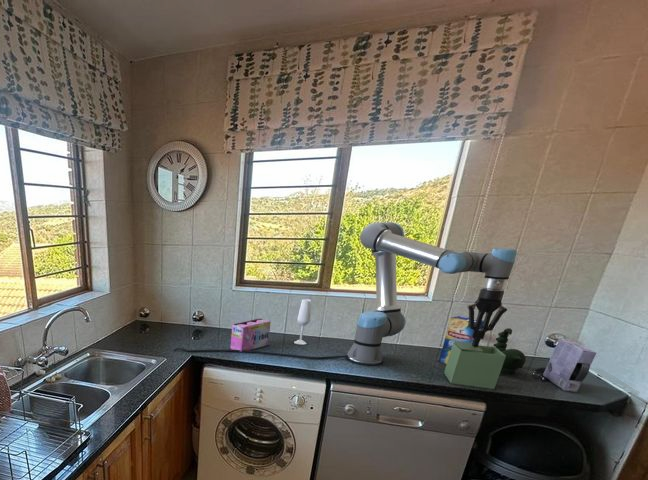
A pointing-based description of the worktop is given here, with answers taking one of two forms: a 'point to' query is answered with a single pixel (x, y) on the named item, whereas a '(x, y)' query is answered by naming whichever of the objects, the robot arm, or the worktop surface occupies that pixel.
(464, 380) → the green open box
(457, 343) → the flap
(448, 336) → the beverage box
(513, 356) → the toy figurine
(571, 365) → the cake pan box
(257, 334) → the gum box
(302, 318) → the champagne flute
